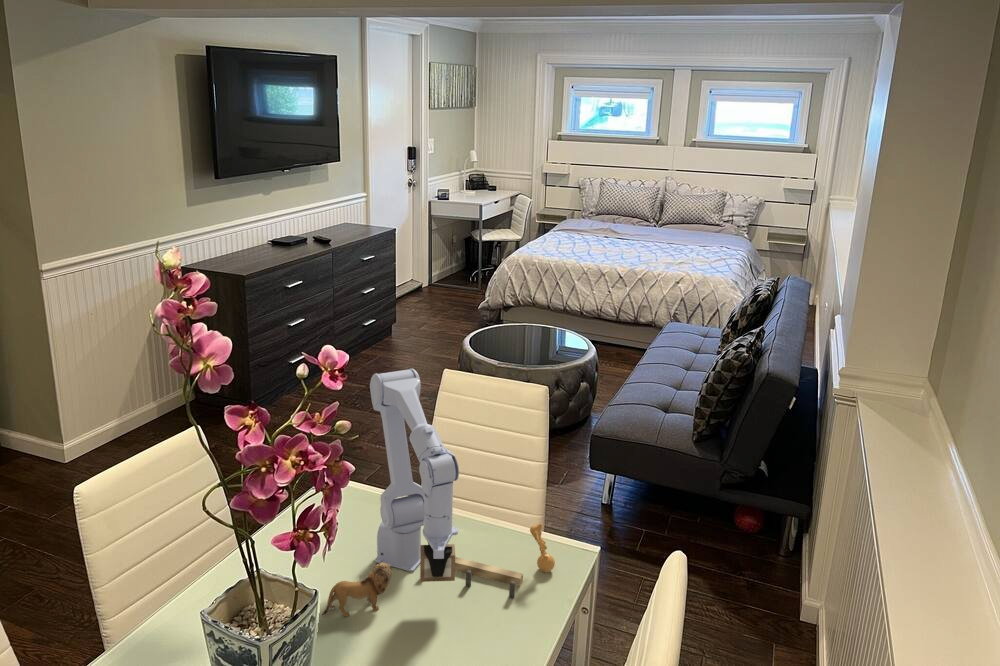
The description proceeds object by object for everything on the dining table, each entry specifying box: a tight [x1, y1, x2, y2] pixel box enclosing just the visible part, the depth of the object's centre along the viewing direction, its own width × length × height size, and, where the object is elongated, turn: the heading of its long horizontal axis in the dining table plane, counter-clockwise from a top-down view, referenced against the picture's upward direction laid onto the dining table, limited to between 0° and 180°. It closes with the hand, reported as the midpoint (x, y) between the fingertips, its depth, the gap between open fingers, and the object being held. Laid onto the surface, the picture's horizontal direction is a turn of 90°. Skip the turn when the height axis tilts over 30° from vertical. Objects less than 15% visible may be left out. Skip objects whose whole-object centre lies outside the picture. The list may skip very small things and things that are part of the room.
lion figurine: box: [321, 563, 393, 617], centre depth 159 cm, size 15×5×9 cm, turn 117°
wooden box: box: [419, 543, 456, 583], centre depth 160 cm, size 7×4×6 cm, turn 96°
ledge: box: [455, 556, 524, 599], centre depth 171 cm, size 21×7×4 cm, turn 70°
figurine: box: [529, 523, 556, 573], centre depth 174 cm, size 8×6×12 cm
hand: (437, 569), depth 161 cm, fingers closed on wooden box, 4 cm apart
